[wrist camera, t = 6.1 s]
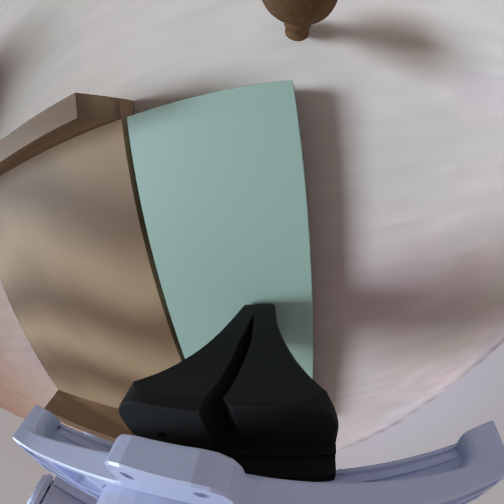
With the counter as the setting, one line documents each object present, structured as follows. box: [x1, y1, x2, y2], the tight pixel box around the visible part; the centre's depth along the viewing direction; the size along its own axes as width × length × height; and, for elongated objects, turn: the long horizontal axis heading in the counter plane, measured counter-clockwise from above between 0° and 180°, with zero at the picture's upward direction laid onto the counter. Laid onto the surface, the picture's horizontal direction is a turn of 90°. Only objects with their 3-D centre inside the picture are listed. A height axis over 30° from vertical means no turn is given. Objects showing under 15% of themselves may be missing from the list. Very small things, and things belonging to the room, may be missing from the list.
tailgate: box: [127, 80, 313, 379], centre depth 13 cm, size 20×1×7 cm
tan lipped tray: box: [0, 93, 185, 443], centre depth 14 cm, size 22×16×4 cm
